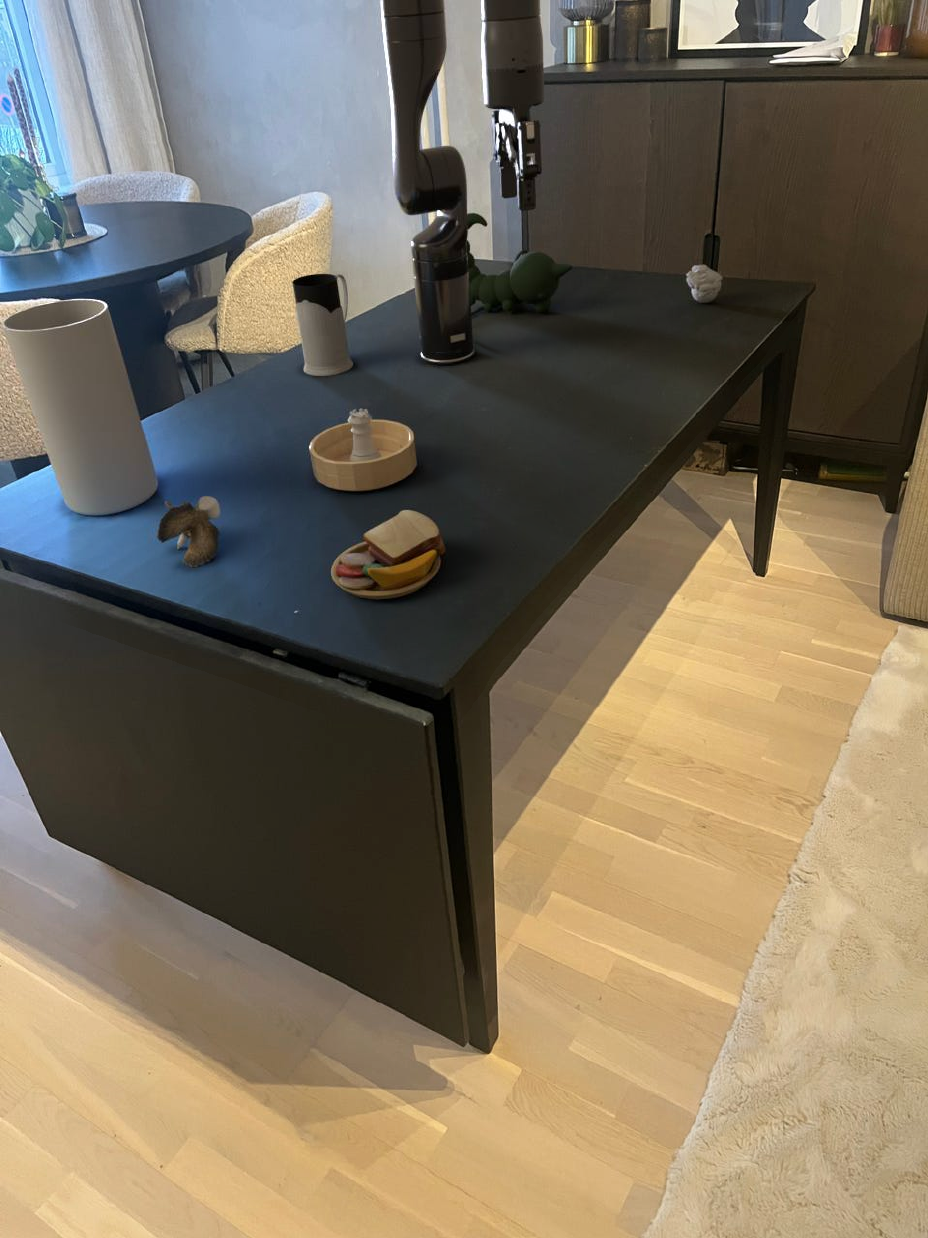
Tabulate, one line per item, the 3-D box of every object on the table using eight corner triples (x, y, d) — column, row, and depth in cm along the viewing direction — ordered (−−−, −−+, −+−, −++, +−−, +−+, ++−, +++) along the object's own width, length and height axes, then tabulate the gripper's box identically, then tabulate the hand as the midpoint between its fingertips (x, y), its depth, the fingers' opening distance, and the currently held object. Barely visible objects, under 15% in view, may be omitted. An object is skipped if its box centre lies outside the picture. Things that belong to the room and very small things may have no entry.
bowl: (317, 454, 136) (312, 425, 134) (415, 444, 137) (412, 415, 134) (312, 499, 125) (306, 468, 122) (418, 488, 125) (415, 457, 122)
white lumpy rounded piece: (680, 299, 182) (682, 262, 179) (715, 296, 183) (718, 258, 179) (689, 309, 178) (692, 270, 174) (726, 305, 178) (729, 267, 174)
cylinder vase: (108, 525, 123) (45, 336, 108) (47, 506, 129) (-21, 324, 114) (178, 485, 131) (128, 304, 117) (118, 469, 137) (63, 295, 123)
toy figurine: (450, 321, 187) (567, 319, 176) (434, 220, 177) (556, 211, 166) (471, 306, 194) (585, 303, 183) (456, 209, 184) (576, 199, 173)
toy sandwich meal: (316, 566, 110) (309, 531, 108) (419, 532, 115) (415, 498, 112) (358, 617, 101) (351, 579, 98) (468, 578, 106) (465, 541, 103)
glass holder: (294, 373, 164) (278, 286, 156) (333, 346, 175) (320, 263, 166) (338, 377, 161) (324, 288, 153) (375, 349, 172) (364, 264, 163)
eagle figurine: (154, 529, 118) (145, 552, 110) (174, 479, 116) (166, 498, 108) (212, 552, 121) (208, 576, 113) (233, 503, 119) (230, 524, 111)
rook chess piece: (387, 460, 131) (380, 406, 127) (375, 475, 128) (367, 419, 123) (358, 458, 133) (350, 404, 128) (345, 472, 129) (336, 417, 125)
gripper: (469, 61, 120) (477, 197, 130) (498, 69, 109) (504, 217, 118) (525, 55, 122) (529, 190, 131) (560, 62, 110) (561, 210, 119)
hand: (517, 203), depth 125 cm, fingers open, 8 cm apart
